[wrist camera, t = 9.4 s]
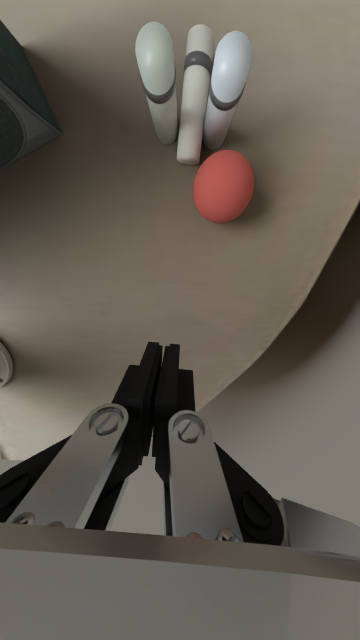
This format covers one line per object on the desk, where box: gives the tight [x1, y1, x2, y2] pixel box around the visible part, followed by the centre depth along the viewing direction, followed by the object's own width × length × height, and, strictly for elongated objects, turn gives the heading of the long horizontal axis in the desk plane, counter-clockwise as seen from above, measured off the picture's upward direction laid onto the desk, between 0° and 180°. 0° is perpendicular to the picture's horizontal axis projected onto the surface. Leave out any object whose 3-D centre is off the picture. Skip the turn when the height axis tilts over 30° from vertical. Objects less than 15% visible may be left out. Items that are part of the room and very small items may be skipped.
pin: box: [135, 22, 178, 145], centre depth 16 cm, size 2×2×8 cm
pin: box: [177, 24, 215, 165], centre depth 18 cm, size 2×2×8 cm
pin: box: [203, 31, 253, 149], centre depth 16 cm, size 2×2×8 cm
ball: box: [193, 150, 254, 223], centre depth 19 cm, size 6×6×6 cm
